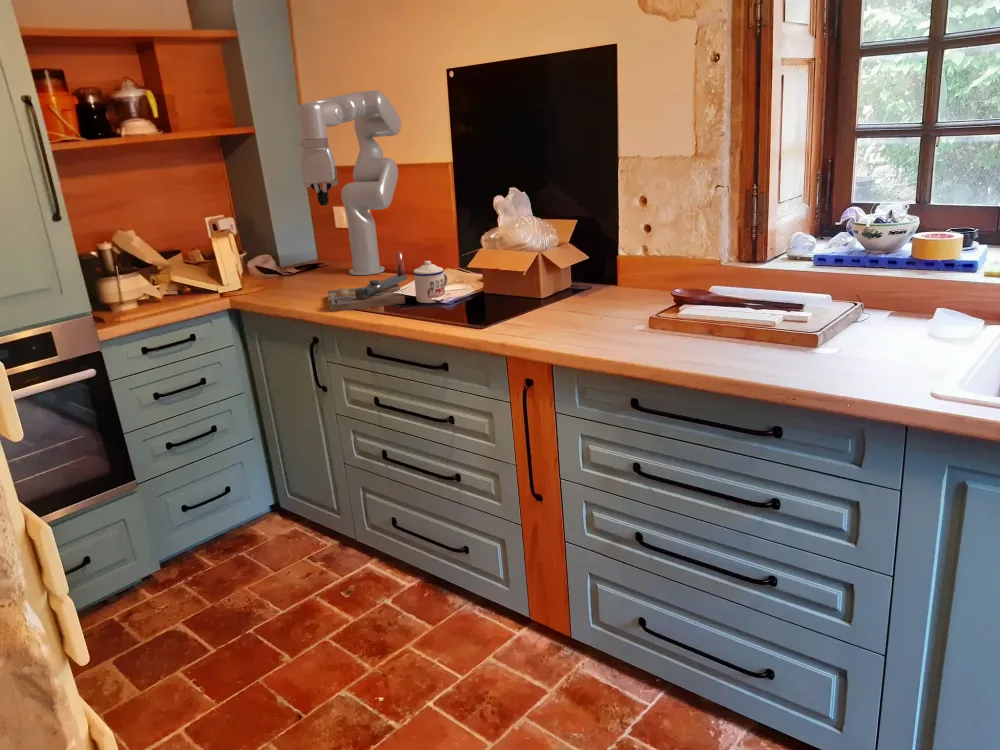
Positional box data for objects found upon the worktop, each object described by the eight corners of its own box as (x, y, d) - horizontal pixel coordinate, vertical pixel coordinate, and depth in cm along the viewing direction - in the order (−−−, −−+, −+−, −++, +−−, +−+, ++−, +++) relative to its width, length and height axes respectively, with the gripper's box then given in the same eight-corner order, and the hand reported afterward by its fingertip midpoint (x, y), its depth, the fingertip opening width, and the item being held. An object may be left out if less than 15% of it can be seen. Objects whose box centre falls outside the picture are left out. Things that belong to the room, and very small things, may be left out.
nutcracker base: (328, 296, 238) (326, 277, 236) (398, 289, 242) (396, 270, 240) (329, 312, 218) (326, 291, 216) (405, 304, 222) (403, 283, 220)
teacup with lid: (430, 304, 220) (426, 265, 216) (409, 301, 226) (405, 262, 222) (459, 296, 228) (456, 258, 224) (438, 293, 234) (435, 255, 230)
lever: (397, 281, 242) (394, 251, 239) (409, 282, 240) (406, 251, 237) (356, 298, 223) (352, 265, 220) (369, 298, 221) (365, 266, 218)
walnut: (337, 300, 223) (335, 287, 222) (350, 299, 224) (349, 285, 223) (337, 303, 219) (335, 290, 218) (351, 302, 220) (349, 288, 219)
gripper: (288, 147, 232) (297, 207, 238) (336, 144, 231) (344, 205, 237) (296, 145, 239) (304, 204, 245) (342, 143, 238) (349, 202, 244)
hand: (324, 204), depth 241 cm, fingers closed
